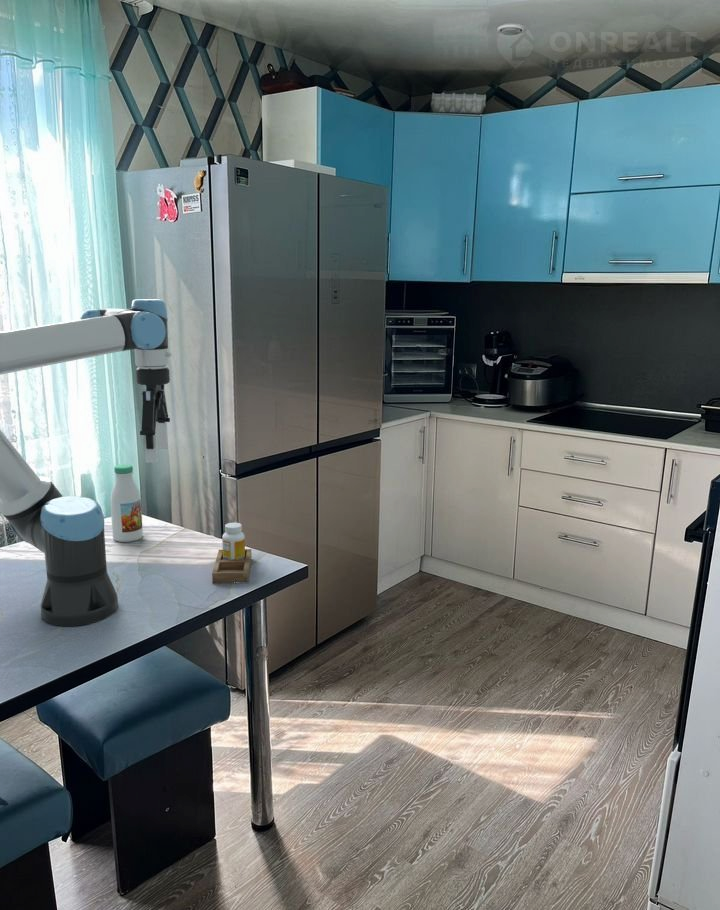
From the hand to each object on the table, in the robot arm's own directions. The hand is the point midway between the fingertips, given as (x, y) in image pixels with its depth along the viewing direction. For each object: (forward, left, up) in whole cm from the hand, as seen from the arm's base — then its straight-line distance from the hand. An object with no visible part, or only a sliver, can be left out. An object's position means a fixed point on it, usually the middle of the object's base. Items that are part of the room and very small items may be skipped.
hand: (157, 455), depth 174 cm
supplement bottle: (-4, -18, -26) cm, 32 cm away
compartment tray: (-8, -18, -27) cm, 33 cm away
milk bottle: (+16, +12, -27) cm, 34 cm away
